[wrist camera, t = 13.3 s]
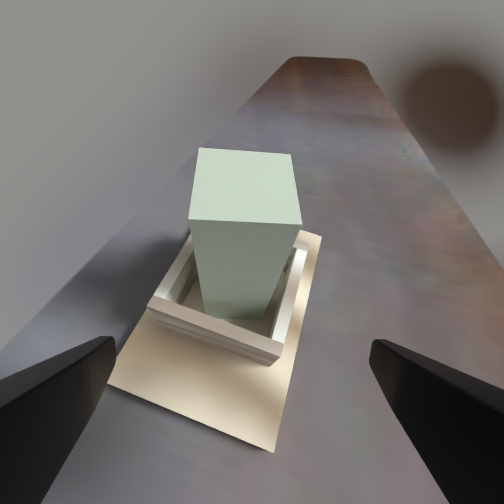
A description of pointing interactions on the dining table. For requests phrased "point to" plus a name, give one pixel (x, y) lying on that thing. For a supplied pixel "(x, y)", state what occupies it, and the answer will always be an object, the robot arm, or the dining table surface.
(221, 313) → the peg
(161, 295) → the holder
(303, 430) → the dining table surface
